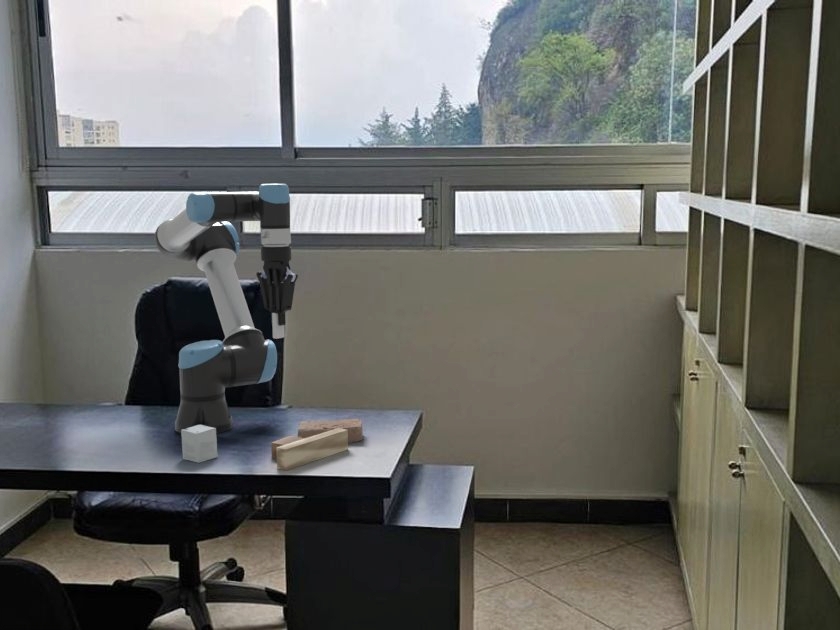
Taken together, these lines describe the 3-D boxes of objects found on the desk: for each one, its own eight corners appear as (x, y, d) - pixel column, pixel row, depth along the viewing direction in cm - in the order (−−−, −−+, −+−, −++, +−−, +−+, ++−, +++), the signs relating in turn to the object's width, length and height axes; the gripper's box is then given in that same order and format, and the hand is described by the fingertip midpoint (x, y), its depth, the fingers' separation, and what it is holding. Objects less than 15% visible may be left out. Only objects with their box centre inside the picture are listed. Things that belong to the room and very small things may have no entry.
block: (271, 458, 214) (271, 442, 213) (290, 451, 220) (289, 435, 219) (294, 463, 210) (293, 446, 210) (312, 455, 216) (312, 439, 216)
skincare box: (218, 457, 214) (216, 427, 213) (197, 463, 210) (196, 433, 209) (202, 453, 218) (200, 423, 217) (181, 459, 213) (180, 429, 212)
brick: (297, 445, 225) (297, 427, 224) (299, 436, 233) (298, 419, 232) (362, 444, 226) (362, 426, 225) (362, 435, 234) (362, 417, 234)
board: (276, 468, 205) (276, 447, 205) (339, 447, 222) (338, 427, 221) (286, 470, 204) (285, 449, 203) (348, 449, 220) (347, 429, 219)
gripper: (247, 245, 225) (250, 337, 228) (282, 247, 217) (285, 342, 220) (269, 243, 231) (272, 333, 234) (304, 245, 223) (307, 338, 226)
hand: (278, 337), depth 227 cm, fingers closed
